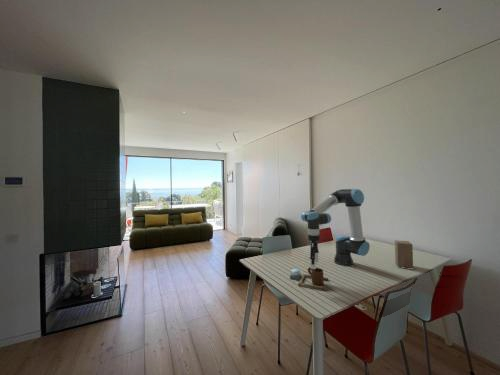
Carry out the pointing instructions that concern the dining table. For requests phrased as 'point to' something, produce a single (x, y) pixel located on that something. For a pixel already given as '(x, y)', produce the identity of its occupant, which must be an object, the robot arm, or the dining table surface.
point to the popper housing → (295, 277)
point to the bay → (309, 284)
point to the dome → (295, 272)
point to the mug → (316, 276)
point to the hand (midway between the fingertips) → (314, 265)
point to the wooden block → (403, 254)
